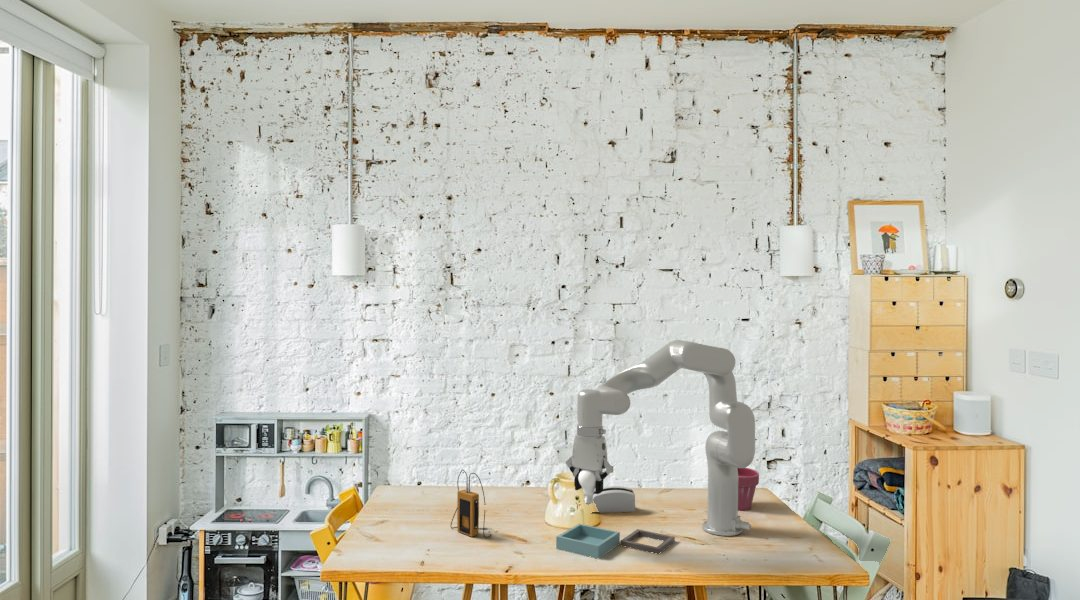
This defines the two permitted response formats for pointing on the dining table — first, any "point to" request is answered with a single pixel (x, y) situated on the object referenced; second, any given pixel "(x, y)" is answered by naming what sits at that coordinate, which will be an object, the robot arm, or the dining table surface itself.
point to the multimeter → (468, 511)
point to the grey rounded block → (615, 499)
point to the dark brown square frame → (627, 542)
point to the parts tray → (588, 540)
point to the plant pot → (746, 487)
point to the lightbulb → (587, 484)
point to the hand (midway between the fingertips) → (588, 490)
